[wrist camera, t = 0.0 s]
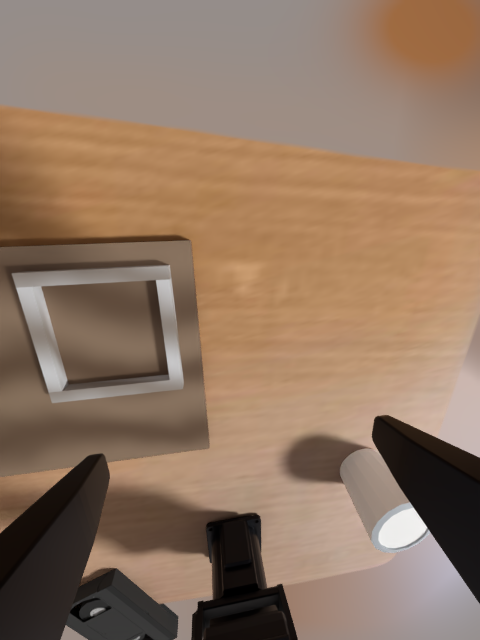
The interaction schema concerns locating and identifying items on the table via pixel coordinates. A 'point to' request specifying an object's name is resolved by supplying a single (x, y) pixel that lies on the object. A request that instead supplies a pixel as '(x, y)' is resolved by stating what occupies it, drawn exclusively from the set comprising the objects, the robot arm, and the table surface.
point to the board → (98, 354)
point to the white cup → (381, 502)
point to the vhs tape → (120, 611)
